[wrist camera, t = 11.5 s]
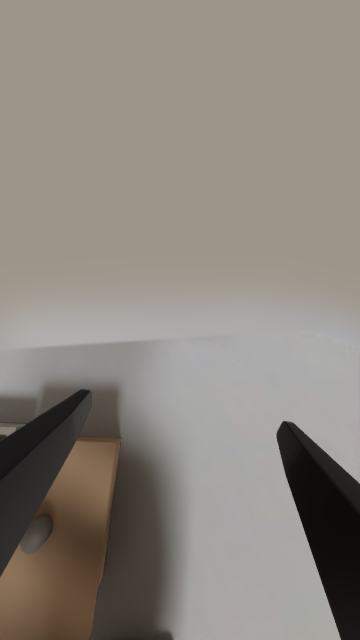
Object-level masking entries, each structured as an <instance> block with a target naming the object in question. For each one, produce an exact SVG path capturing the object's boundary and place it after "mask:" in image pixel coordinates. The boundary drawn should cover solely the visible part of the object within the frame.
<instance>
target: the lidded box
mask: <svg viewBox="0 0 360 640" xmlns="http://www.w3.org/2000/svg"><path fill="white" fill-rule="evenodd" d="M120 444H121V438H105V437H78V438H77V440H76V443H75V445H74V447H73V448H72V450H71V452H70V454H69V456H68V457H67V459H66V461H65V463H64V465H63V466H62V468H61V470H60V472H59V474H58V475H57V477H56V479H55V481H54V482H53V484H52V486H51V488H50V490H49V491H48V493H47V495H46V497H45V499H44V500H43V502H42V504H41V506H40V507H39V509H38V511H37V513H36V515H35V516H34V518H33V520H32V522H31V524H30V525H29V527H28V529H27V531H26V533H25V534H24V536H23V538H22V540H21V541H20V543H19V545H18V547H17V549H16V550H15V552H14V554H13V556H12V558H11V559H10V561H9V563H8V565H7V567H6V568H5V570H4V572H3V574H2V575H1V577H0V640H90V637H91V633H92V628H93V621H94V613H95V606H96V599H97V592H98V589H99V586H100V583H101V580H102V577H103V571H104V564H105V556H106V549H107V541H108V534H109V526H110V519H111V511H112V504H113V496H114V489H115V481H116V474H117V466H118V459H119V451H120Z"/></svg>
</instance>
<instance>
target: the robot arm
mask: <svg viewBox="0 0 360 640" xmlns="http://www.w3.org/2000/svg"><path fill="white" fill-rule="evenodd" d="M91 405H92V396H91V391H90V390H85V389H81V390H79V391H78V392H76V393H75V394H73V395H72V396H70V397H68V398H67V399H65V400H64V401H62V402H61V403H59V404H57V405H56V406H54V407H53V408H51V409H50V410H48V411H46V412H45V413H43V414H42V415H40V416H38V417H37V418H35V419H34V420H32V421H31V422H29V423H27V424H26V425H24V426H23V427H21V428H20V429H18V430H16V431H15V432H13V433H12V434H10V435H9V436H7V437H5V438H4V439H2V440H1V441H0V577H1V575H2V574H3V572H4V570H5V568H6V567H7V565H8V563H9V561H10V559H11V558H12V556H13V554H14V552H15V550H16V549H17V547H18V545H19V543H20V541H21V540H22V538H23V536H24V534H25V533H26V531H27V529H28V527H29V525H30V524H31V522H32V520H33V518H34V516H35V515H36V513H37V511H38V509H39V507H40V506H41V504H42V502H43V500H44V499H45V497H46V495H47V493H48V491H49V490H50V488H51V486H52V484H53V482H54V481H55V479H56V477H57V475H58V474H59V472H60V470H61V468H62V466H63V465H64V463H65V461H66V459H67V457H68V456H69V454H70V452H71V450H72V448H73V447H74V445H75V443H76V440H77V438H78V436H79V434H80V432H81V429H82V427H83V425H84V422H85V420H86V418H87V416H88V413H89V411H90V409H91ZM277 442H278V446H279V450H280V454H281V458H282V462H283V466H284V470H285V474H286V477H287V480H288V483H289V486H290V489H291V492H292V495H293V498H294V501H295V504H296V507H297V510H298V513H299V516H300V519H301V522H302V525H303V528H304V531H305V534H306V537H307V540H308V543H309V546H310V549H311V552H312V555H313V558H314V561H315V563H316V566H317V569H318V572H319V575H320V578H321V581H322V584H323V587H324V590H325V593H326V596H327V599H328V602H329V605H330V608H331V611H332V614H333V617H334V620H335V623H336V626H337V629H338V632H339V635H340V638H341V640H360V484H359V483H358V482H357V481H356V480H355V479H354V478H353V477H352V476H351V475H350V474H349V473H347V472H346V471H345V470H344V469H343V468H342V467H341V466H340V465H339V464H338V463H337V462H335V461H334V460H333V459H332V458H331V457H330V456H329V455H328V454H327V453H326V452H325V451H323V450H322V449H321V448H320V447H319V446H318V445H317V444H316V443H315V442H314V441H313V440H311V439H310V438H309V437H308V436H307V435H306V434H305V433H304V432H303V431H302V430H301V429H299V428H298V427H297V426H296V425H295V424H294V423H292V422H287V421H283V422H282V424H281V425H280V427H279V429H278V431H277Z"/></svg>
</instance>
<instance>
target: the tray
mask: <svg viewBox="0 0 360 640" xmlns="http://www.w3.org/2000/svg"><path fill="white" fill-rule="evenodd" d="M24 425H26V424H20V423H0V441H1V440H2V439H4V438H5V437H7V436H9V435H10V434H12V433H13V432H15V431H16V430H18V429H20V428H21V427H23V426H24Z"/></svg>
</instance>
